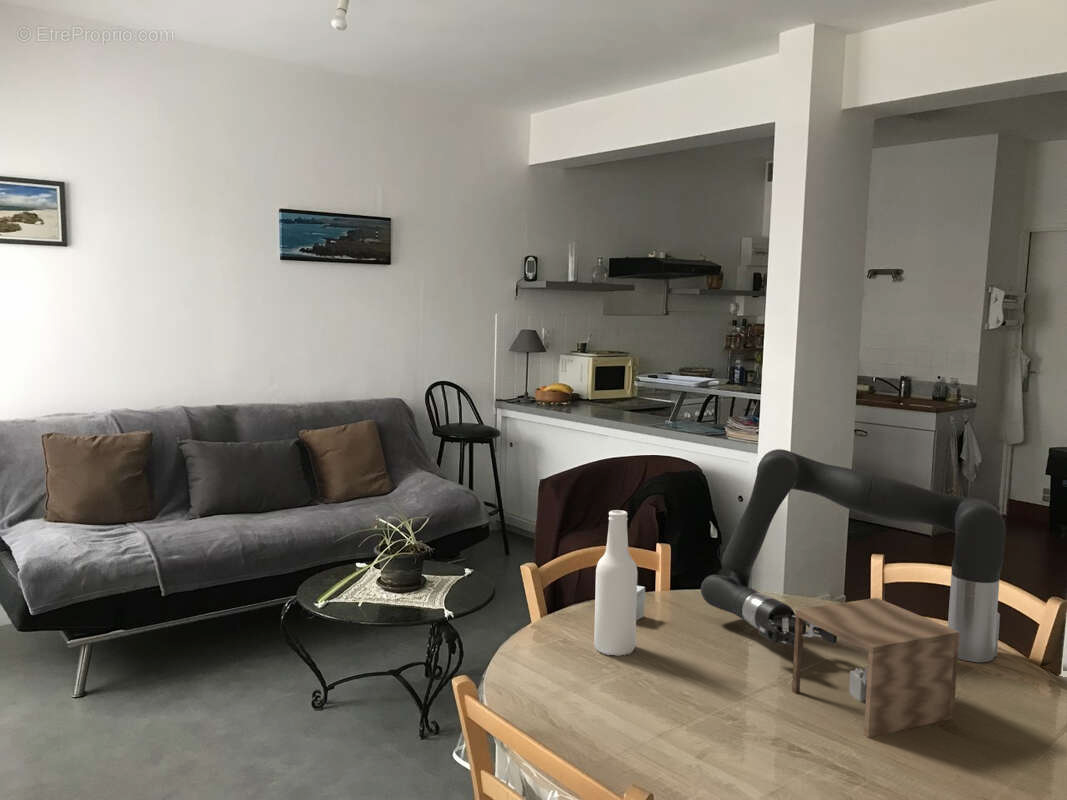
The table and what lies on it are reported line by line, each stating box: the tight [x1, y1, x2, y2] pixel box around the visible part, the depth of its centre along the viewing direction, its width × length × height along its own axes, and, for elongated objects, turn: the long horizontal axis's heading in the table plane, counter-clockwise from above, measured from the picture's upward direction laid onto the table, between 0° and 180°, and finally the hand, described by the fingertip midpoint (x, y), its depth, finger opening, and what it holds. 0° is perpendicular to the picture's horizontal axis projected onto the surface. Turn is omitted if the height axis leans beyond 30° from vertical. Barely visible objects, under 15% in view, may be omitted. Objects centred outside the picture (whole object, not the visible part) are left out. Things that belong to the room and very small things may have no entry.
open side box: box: [791, 597, 959, 738], centre depth 168 cm, size 20×20×16 cm
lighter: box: [848, 664, 868, 703], centre depth 170 cm, size 7×2×8 cm, turn 10°
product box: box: [636, 585, 646, 621], centre depth 212 cm, size 6×6×7 cm
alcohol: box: [593, 509, 638, 657], centre depth 192 cm, size 9×9×30 cm
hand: (818, 641), depth 181 cm, fingers open, 8 cm apart
